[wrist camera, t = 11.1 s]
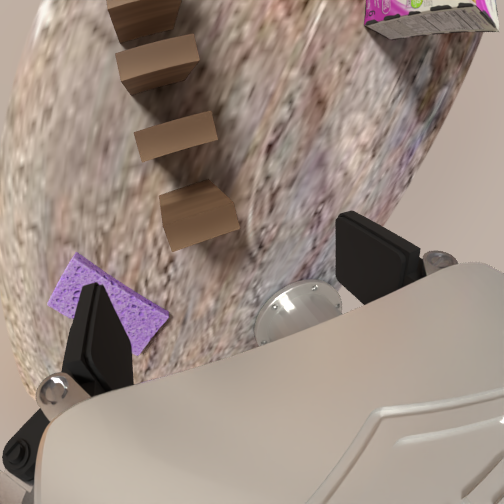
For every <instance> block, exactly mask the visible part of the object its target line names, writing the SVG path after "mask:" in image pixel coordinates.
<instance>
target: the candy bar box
mask: <svg viewBox="0 0 504 504" xmlns="http://www.w3.org/2000/svg"><path fill="white" fill-rule="evenodd" d="M364 26H366V27H368V28H369V29H371V30H374V31H376V32H378V33H380V34H381V35H383V36H385V37H387V38H388V39H390V40H394V39H401V38H407V37H414V36H422V35H431V34H442V33H457V32H499V22H498V14H497V5H496V0H366V8H365V21H364Z"/></svg>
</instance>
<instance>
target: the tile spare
mask: <svg viewBox="0 0 504 504" xmlns="http://www.w3.org/2000/svg"><path fill="white" fill-rule="evenodd" d="M159 199H160V207H161V215H162V223H163V228H164V231H165V233H166V236H167V239H168V242H169V244H170V247H171V250H172V252H174V251H177V250H180V249H183V248H186V247H188V246H191V245H194V244H197V243H200V242H203V241H206V240H209V239H211V238H214V237H217V236H220V235H223V234H226V233H229V232H232V231H235V230H238V229H240V226H239V222H238V218H237V214H236V210H235V206H234V202H233V201H232V200H230V199H229V198H228V197H227V196H226V195H225V194H224V193H223V192H222V191H221V190H220V189H219V188H218V187H217V186H216V185H215V184H214V183H213V182H211V181H210V180H209V179H208V180H205V181H202V182H198V183H195V184H192V185H189V186H186V187H183V188H180V189H177V190H174V191H171V192H168V193H165V194H162V195H159Z"/></svg>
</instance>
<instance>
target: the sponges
mask: <svg viewBox="0 0 504 504" xmlns="http://www.w3.org/2000/svg"><path fill="white" fill-rule="evenodd" d="M94 282H97V283H98V284H99V285H101V284H103V285H104V287H105V289H106V291H107V293H108V296H109V298H110V300H111V302H112V304H113V307H114V309H115V311H116V313H117V315H118V317H119V319H120V321H121V323H122V325H123V327H124V329H125V331H126V333H127V335H128V337H129V339H130V342H131V346H132V354H135V355H137V356H138V355H139V354H140V353H141V352H142V350H143V349H144V348H145V346H146V345H147V344H148V342H149V341H150V339H151V338H152V337H153V336H154V335H155V333H156V332H157V331H158V329H160V327H161V326H162V325H163V324H164V323H165V322H166V320H167V319H168V318H169V312H168V311H167V310H165V309H163V308H161V307H160V306H158V305H156V304H154V303H152V302H151V301H150V300H148V299H146V298H145V297H143V296H141V295H140V294H138V293H137V292H135V291H133V290H132V289H130V288H129V287H127V286H126V285H124V284H123V283H121V282H119V281H118V280H116V279H115V278H113V277H112V276H111V275H108V274H107V273H105V272H104V271H103V270H102V269H100V268H99V267H97V266H96V265H94V264H93V263H92V262H90V261H89V260H87V259H86V258H85V257H83V256H82V255H80V254H79V253H78V252H76V253H75V254H74V256H73V258H72V259H71V261H70V263H69V264H68V266H67V268H66V269H65V271H64V273H63V275H62V276H61V278H60V280H59V282H58V284H57V286H56V288H55V290H54V291H53V293H52V295H51V297H50V299H49V301H48V303H47V305H48V306H50V307H51V308H54V309H55V310H57V311H59V312H60V313H61V314H63V315H65V316H67V317H68V318H73V319H74V315H75V312H76V308H77V304H78V300H79V297H80V293H81V290H82V287H83V286H84V285H88V284H91V283H94Z"/></svg>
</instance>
